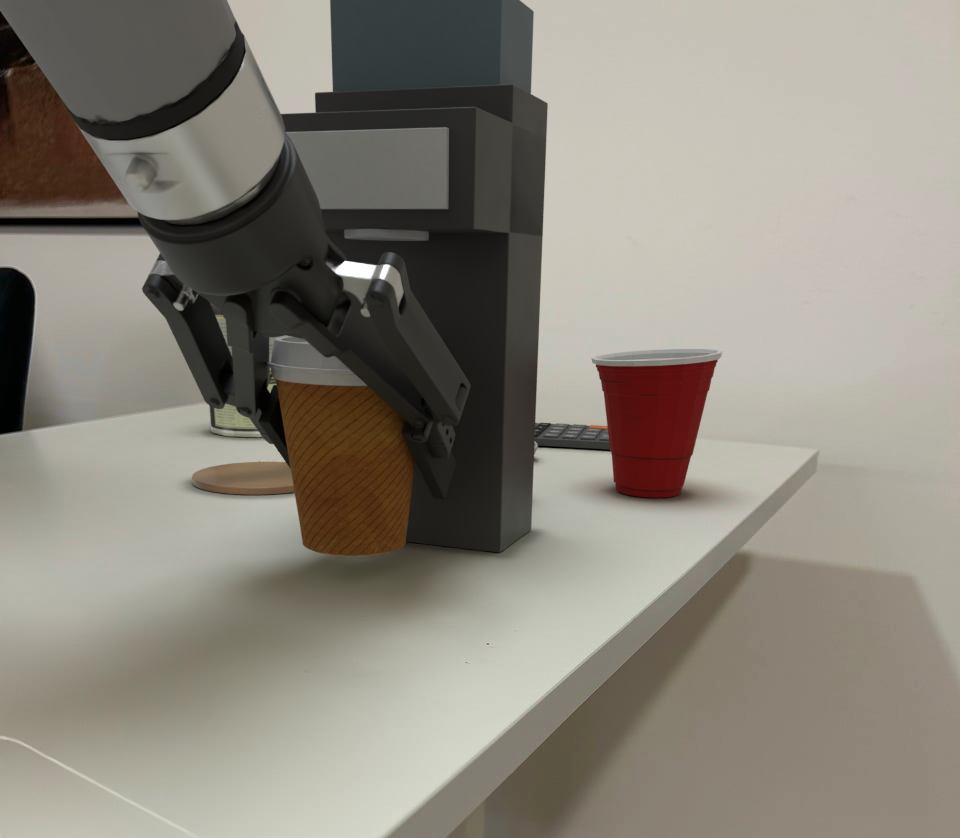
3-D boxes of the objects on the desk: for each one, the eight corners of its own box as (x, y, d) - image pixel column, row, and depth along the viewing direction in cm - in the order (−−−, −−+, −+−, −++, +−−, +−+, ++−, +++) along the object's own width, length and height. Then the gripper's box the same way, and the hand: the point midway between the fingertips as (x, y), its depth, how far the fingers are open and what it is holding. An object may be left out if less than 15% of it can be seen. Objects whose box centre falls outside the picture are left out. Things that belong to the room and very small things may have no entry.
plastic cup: (584, 476, 92) (592, 343, 88) (701, 481, 91) (715, 346, 87) (583, 501, 82) (591, 352, 78) (714, 507, 81) (730, 356, 77)
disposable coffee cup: (284, 569, 55) (274, 345, 51) (268, 528, 63) (258, 334, 59) (449, 559, 57) (452, 346, 53) (412, 521, 66) (413, 335, 62)
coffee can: (194, 428, 114) (184, 300, 109) (274, 421, 121) (267, 300, 116) (235, 440, 107) (226, 304, 102) (317, 432, 113) (312, 303, 108)
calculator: (619, 441, 105) (482, 433, 108) (618, 449, 105) (482, 442, 108) (627, 426, 116) (503, 419, 119) (627, 433, 116) (502, 427, 119)
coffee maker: (465, 578, 61) (475, -53, 49) (282, 554, 65) (251, -32, 53) (531, 529, 73) (551, 11, 61) (372, 512, 77) (363, 24, 65)
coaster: (162, 483, 85) (161, 476, 85) (257, 463, 95) (257, 456, 95) (267, 501, 80) (267, 493, 80) (357, 477, 90) (357, 471, 89)
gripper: (-22, 231, 44) (212, 507, 64) (410, 235, 38) (523, 543, 57) (48, 116, 47) (252, 415, 67) (462, 101, 40) (553, 438, 60)
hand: (377, 474), depth 62 cm, fingers closed on disposable coffee cup, 8 cm apart
